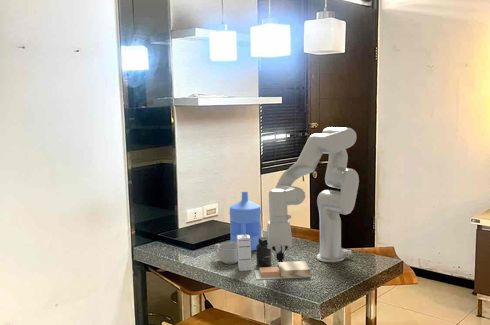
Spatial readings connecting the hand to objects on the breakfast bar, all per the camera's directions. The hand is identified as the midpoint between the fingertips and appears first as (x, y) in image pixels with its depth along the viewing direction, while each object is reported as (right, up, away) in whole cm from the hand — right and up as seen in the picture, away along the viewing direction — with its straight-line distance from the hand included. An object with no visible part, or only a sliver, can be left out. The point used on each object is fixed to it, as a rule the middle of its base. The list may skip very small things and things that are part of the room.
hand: (280, 261), depth 208 cm
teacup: (-23, -4, +19) cm, 30 cm away
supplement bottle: (-6, -4, +13) cm, 15 cm away
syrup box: (-15, -5, +8) cm, 18 cm away
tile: (-4, -5, 0) cm, 7 cm away
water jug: (-14, -1, +40) cm, 43 cm away
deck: (+6, -5, +1) cm, 8 cm away
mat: (+1, -5, 0) cm, 5 cm away
